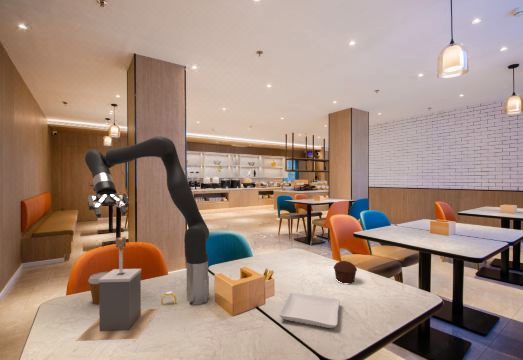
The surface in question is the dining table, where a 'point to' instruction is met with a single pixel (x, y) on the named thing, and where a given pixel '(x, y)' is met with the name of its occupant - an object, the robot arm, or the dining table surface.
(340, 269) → the muffin
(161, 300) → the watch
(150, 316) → the oak board
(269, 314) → the dining table surface
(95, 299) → the disposable coffee cup
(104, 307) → the block
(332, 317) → the salad plate
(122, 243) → the plunger
